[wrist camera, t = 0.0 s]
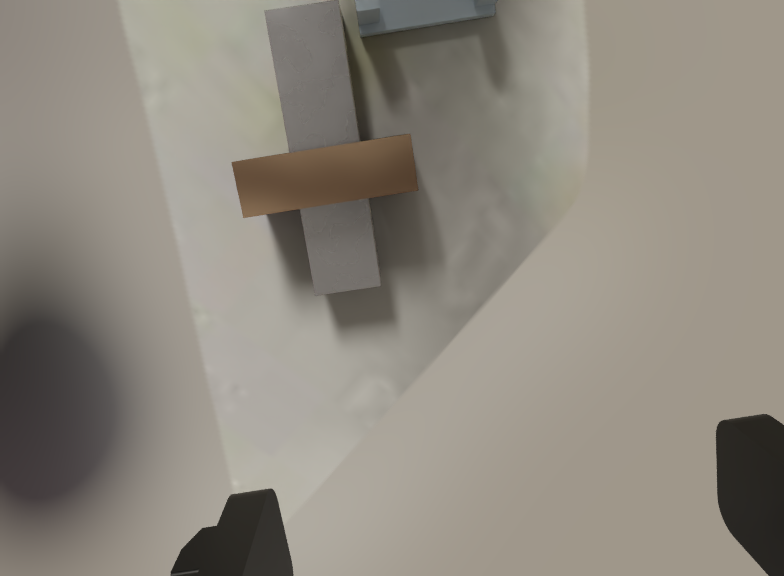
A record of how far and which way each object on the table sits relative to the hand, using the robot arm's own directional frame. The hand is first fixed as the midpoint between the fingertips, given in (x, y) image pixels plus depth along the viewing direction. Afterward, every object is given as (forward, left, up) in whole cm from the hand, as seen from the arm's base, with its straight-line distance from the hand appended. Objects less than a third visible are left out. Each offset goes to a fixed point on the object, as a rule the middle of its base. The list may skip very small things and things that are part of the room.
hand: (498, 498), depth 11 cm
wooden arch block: (-5, -4, -29) cm, 30 cm away
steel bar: (-6, -4, -30) cm, 30 cm away
